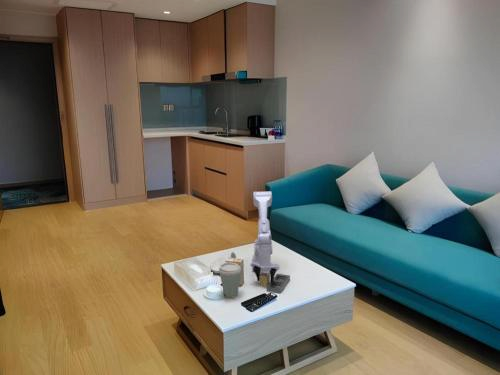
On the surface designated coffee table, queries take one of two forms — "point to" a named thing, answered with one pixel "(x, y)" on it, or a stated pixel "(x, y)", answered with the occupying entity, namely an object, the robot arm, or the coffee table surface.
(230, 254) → the spoon rest
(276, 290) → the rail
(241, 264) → the supplement box
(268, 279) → the wooden block
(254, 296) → the coffee table surface
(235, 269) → the disposable coffee cup
